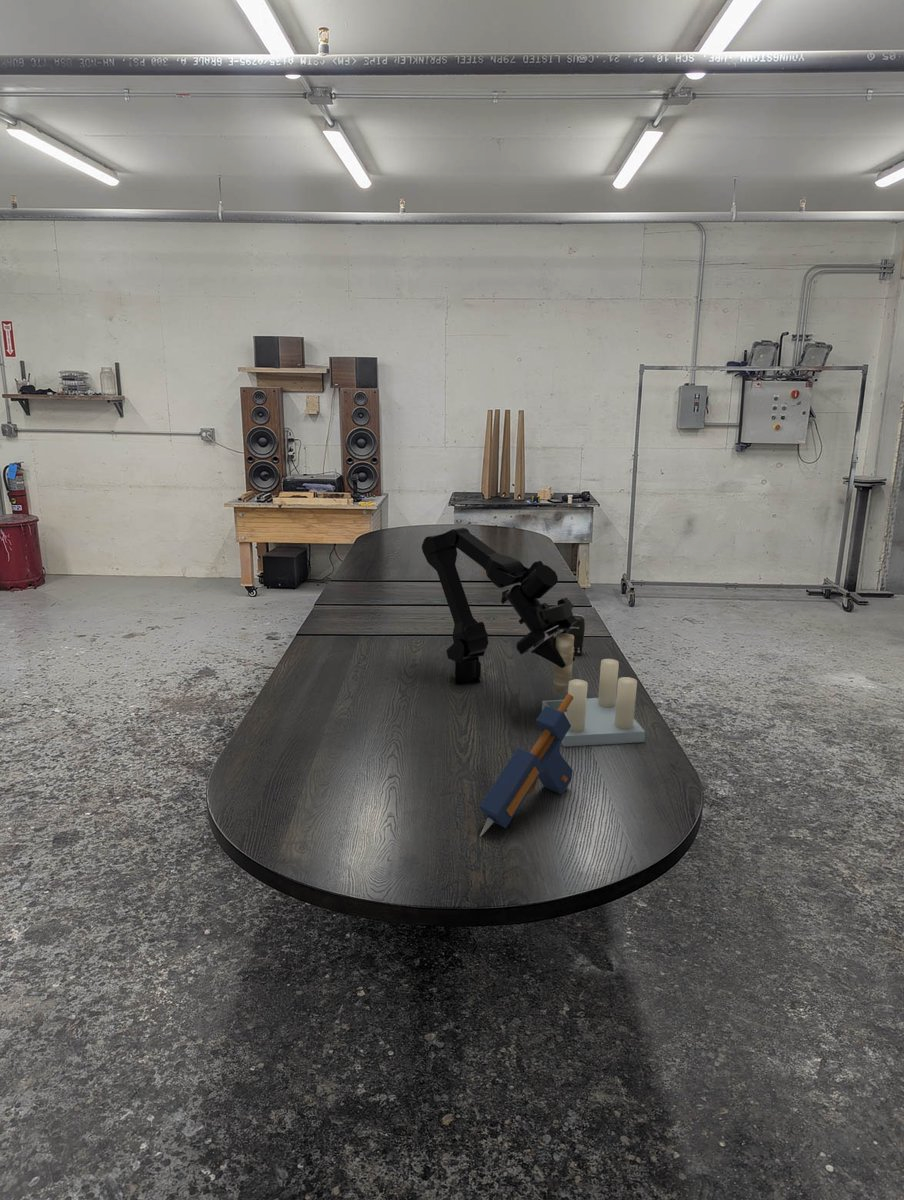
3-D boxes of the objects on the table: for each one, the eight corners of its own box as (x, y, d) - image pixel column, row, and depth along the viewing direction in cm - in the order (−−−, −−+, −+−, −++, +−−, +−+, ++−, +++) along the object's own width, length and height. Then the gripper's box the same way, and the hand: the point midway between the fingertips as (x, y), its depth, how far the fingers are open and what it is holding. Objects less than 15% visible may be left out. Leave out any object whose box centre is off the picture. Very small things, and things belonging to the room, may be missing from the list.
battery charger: (558, 655, 208) (560, 617, 205) (558, 650, 212) (560, 613, 209) (583, 657, 208) (586, 618, 204) (582, 652, 211) (585, 614, 208)
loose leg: (556, 693, 167) (560, 639, 163) (550, 686, 171) (553, 633, 167) (573, 692, 168) (576, 638, 164) (566, 685, 171) (570, 632, 168)
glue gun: (498, 864, 135) (466, 826, 125) (569, 726, 148) (546, 683, 139) (526, 876, 131) (495, 839, 121) (596, 734, 145) (574, 690, 135)
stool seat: (563, 746, 157) (567, 690, 153) (541, 710, 174) (544, 658, 170) (644, 741, 159) (649, 686, 155) (614, 706, 176) (619, 655, 172)
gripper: (530, 598, 157) (573, 658, 154) (571, 580, 172) (612, 635, 169) (498, 625, 164) (539, 683, 161) (540, 606, 179) (578, 659, 175)
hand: (568, 664), depth 166 cm, fingers closed on loose leg, 4 cm apart
